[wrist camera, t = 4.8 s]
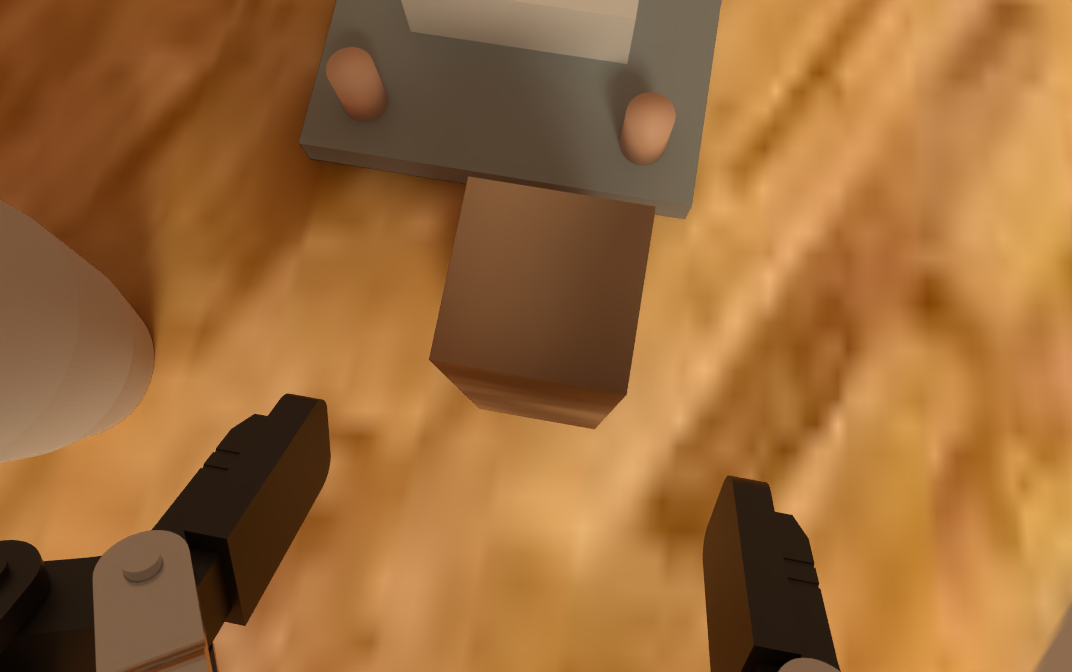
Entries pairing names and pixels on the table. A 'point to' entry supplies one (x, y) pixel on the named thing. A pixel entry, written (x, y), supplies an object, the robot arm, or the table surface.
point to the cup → (62, 344)
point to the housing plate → (520, 93)
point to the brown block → (543, 301)
